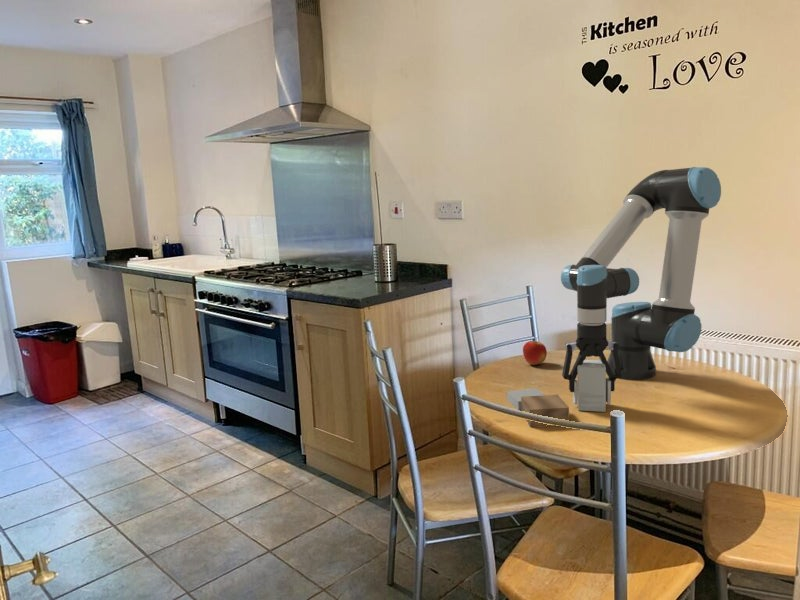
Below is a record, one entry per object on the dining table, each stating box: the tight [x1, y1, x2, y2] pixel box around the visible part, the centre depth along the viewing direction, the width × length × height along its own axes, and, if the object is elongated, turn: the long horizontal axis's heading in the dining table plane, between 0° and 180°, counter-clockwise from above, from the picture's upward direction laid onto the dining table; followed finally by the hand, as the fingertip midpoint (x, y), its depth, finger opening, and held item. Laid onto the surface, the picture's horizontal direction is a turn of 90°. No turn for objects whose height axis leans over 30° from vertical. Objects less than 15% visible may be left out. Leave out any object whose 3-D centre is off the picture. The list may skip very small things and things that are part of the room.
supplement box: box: [577, 359, 607, 413], centre depth 157 cm, size 7×7×13 cm
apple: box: [522, 338, 548, 366], centre depth 200 cm, size 8×8×10 cm
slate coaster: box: [506, 387, 545, 411], centre depth 164 cm, size 9×9×3 cm
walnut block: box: [521, 394, 570, 428], centre depth 152 cm, size 10×10×5 cm
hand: (591, 402), depth 158 cm, fingers closed on supplement box, 8 cm apart
